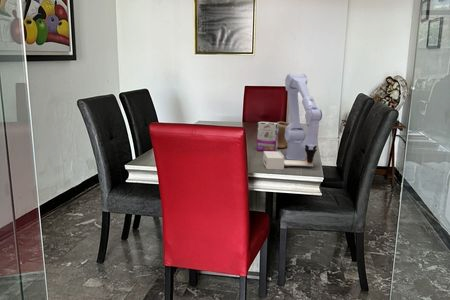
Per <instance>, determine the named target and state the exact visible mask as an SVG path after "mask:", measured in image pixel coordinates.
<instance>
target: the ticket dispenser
mask: <svg viewBox="0 0 450 300" xmlns="http://www.w3.org/2000/svg"><path fill="white" fill-rule="evenodd" d="M262 152H263V153H262V154H263V156H262V163H263V164H264V166H265V168H266V170H283V171H284V169H285V165H284V160H286V157H285V155H284V154H283V153H282V151H281V150H277V152H274V151H262Z"/></svg>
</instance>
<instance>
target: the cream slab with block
mask: <svg viewBox="0 0 450 300" xmlns="http://www.w3.org/2000/svg"><path fill="white" fill-rule="evenodd" d="M284 166H289V167H290V166H291V167H292V166H297V167H299V166H300V167H314V160H313V161H312V163H308V162H307V156H305V160H288V159H284Z"/></svg>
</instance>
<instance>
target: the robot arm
mask: <svg viewBox="0 0 450 300" xmlns="http://www.w3.org/2000/svg"><path fill="white" fill-rule="evenodd" d="M284 84H285V91H287V98H288V99H287V100H288V102H287V103H288V114H289V125H288V126H287V127H286V128H285V139H286V142H288V144H287V146H286V147H287V148H286V149H287V150H286V154H285V155H284V157H285V159H286V160H299V161H306V157H307V162H308V163H312V161H313V162H314V157H315V154H316V152H317V151H318V149H317V147H318V139H319V138H318V137H319V127H320V121H321V120H322V119H323V111H322V109H321V108H319V107H318V106H317V104H316V102H315V100H314V97H313V96H310V92H309V89H308V76H307V75H306V73H287V75H286V77H285V79H284ZM299 94H300V96H301V98H302V100H301V104H302V107H303V109H304V111H305V114H304V116H305V117H304V118H305V124H306V130H305V126H304V125H303V124H302V123H300V120H301V119H300V107H299Z"/></svg>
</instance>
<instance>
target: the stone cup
mask: <svg viewBox="0 0 450 300" xmlns="http://www.w3.org/2000/svg"><path fill="white" fill-rule="evenodd" d="M276 123H279V128H278V146H277V149H278V148H279V149H284V148H286V147H287V146H288V142H287V141H286V139H285V128H286V127H287V126H288V125H289V124H290V122H289V123H288V122H285V121H277V122H276Z"/></svg>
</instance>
